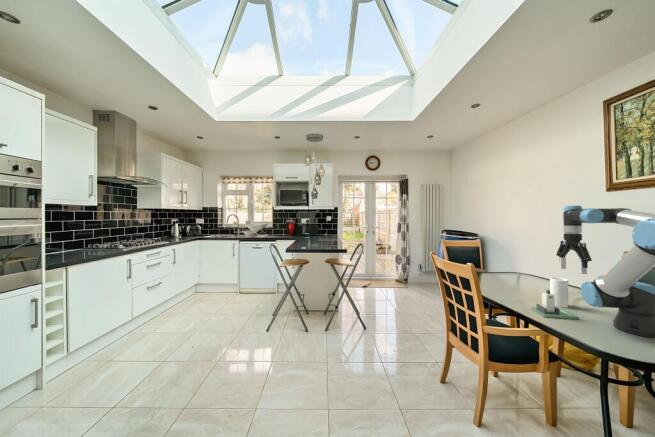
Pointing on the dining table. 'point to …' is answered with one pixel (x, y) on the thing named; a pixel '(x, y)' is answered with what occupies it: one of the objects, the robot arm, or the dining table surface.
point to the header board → (554, 313)
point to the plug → (548, 301)
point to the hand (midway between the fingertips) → (572, 271)
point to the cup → (559, 291)
